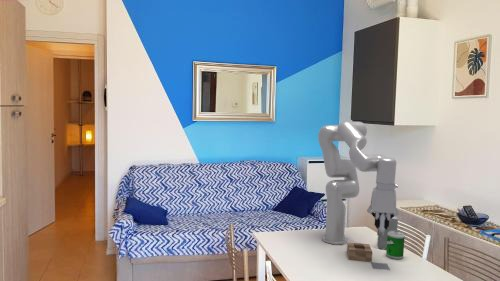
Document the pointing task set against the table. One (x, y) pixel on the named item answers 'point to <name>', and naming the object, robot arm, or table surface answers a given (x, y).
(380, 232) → the peg
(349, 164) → the robot arm
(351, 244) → the hole block
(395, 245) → the soda can
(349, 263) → the table surface
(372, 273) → the table surface
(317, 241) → the table surface
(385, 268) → the mat
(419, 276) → the table surface
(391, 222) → the skincare box
